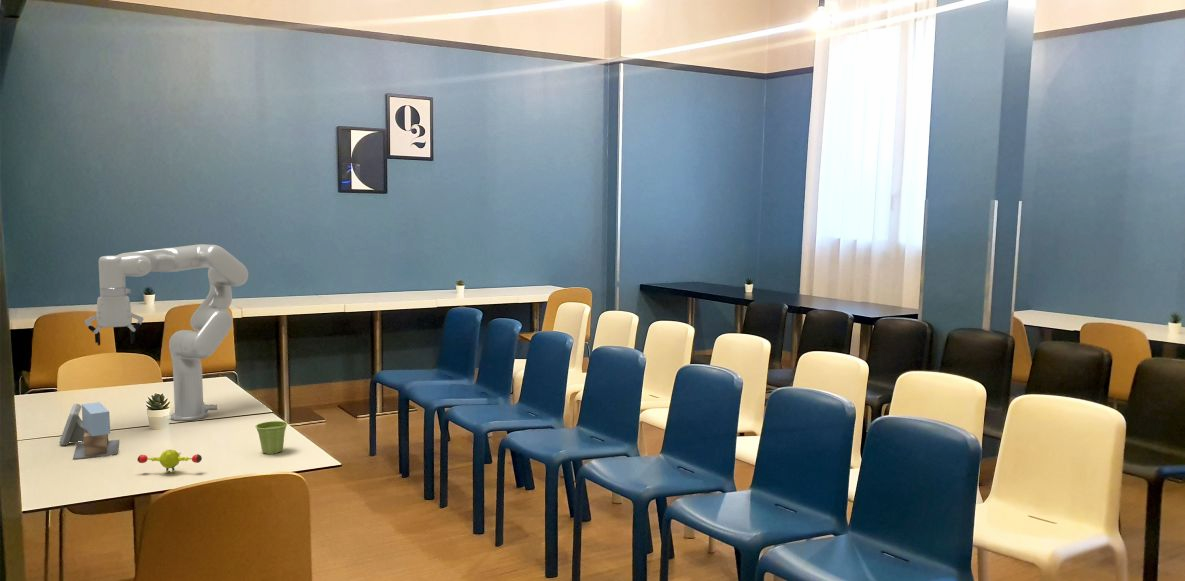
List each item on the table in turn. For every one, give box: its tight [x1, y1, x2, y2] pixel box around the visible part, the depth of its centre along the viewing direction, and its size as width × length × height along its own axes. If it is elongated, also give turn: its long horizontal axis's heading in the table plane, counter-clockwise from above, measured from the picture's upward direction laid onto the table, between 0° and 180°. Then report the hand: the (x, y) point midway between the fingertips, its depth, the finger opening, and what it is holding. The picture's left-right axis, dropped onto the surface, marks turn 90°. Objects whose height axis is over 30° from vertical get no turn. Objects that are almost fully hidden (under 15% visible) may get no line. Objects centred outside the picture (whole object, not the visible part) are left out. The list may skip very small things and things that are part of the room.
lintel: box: [81, 402, 111, 436], centre depth 277 cm, size 5×16×7 cm, turn 39°
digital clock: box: [59, 403, 86, 446], centre depth 289 cm, size 16×9×11 cm, turn 15°
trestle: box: [72, 429, 120, 460], centre depth 278 cm, size 12×18×6 cm, turn 27°
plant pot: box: [255, 420, 288, 455], centre depth 277 cm, size 9×9×9 cm
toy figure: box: [137, 449, 203, 474], centre depth 255 cm, size 18×6×7 cm, turn 92°
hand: (115, 343), depth 296 cm, fingers open, 9 cm apart
